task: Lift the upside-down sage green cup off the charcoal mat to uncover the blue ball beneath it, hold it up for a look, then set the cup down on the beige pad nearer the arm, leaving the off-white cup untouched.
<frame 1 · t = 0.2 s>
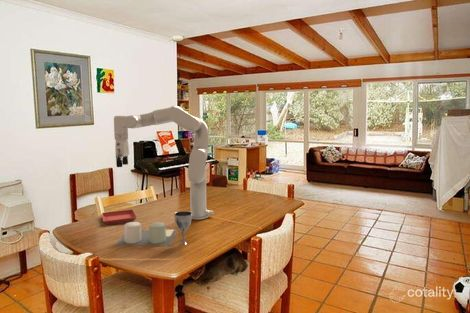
hand: (122, 165, 195), 31 cm above the table, tool pointing down, fingers open, 9 cm apart
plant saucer: (119, 220, 194), on the table
wine glass: (183, 244, 156), on the table
sage cup: (157, 240, 159), point 1 cm above the table, touching mat
white cup: (133, 240, 160), point 1 cm above the table, touching mat
ball: (157, 237, 159), point 2 cm above the table, touching mat
mat: (147, 238, 164), on the table
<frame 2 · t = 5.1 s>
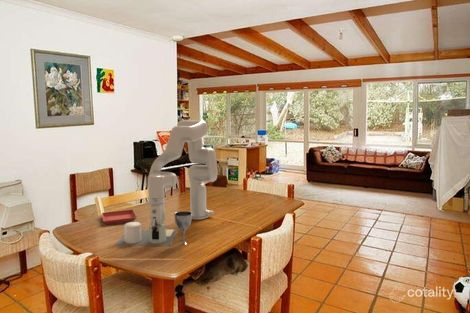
hand: (157, 235, 159), 3 cm above the table, tool pointing down, fingers closed on sage cup, 7 cm apart
sage cup: (157, 240, 159), point 1 cm above the table, touching gripper, mat
everything else where it was.
when the fingers open (5 cm above the table, at t = 12.8 s): sage cup drops 2 cm, resting on mat.
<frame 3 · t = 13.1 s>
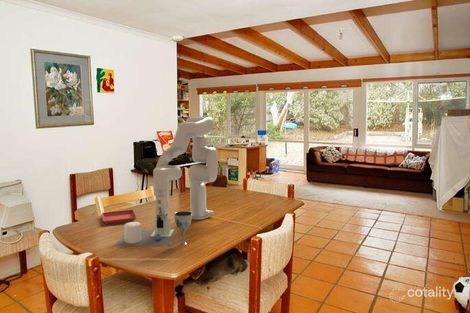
hand: (162, 224, 169), 5 cm above the table, tool pointing down, fingers open, 9 cm apart
sage cup: (162, 232, 169), point 1 cm above the table, touching mat
everything else where it was.
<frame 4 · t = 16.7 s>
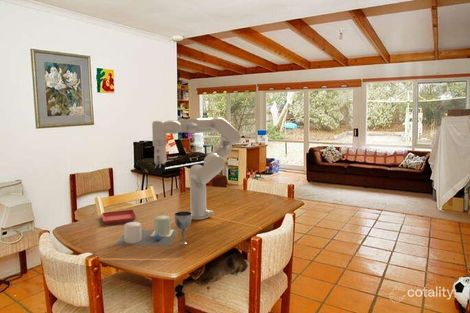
hand: (160, 173, 186), 28 cm above the table, tool pointing down, fingers open, 9 cm apart
nothing on the table moved.
at the end: sage cup 0.1 cm from the target spot, point 0.8 cm above the table; sage cup tilted 0°; the gripper is holding nothing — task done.
